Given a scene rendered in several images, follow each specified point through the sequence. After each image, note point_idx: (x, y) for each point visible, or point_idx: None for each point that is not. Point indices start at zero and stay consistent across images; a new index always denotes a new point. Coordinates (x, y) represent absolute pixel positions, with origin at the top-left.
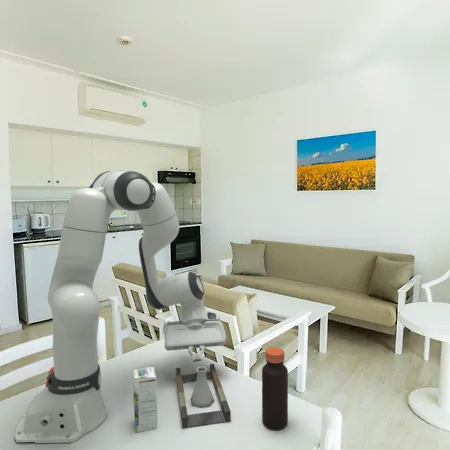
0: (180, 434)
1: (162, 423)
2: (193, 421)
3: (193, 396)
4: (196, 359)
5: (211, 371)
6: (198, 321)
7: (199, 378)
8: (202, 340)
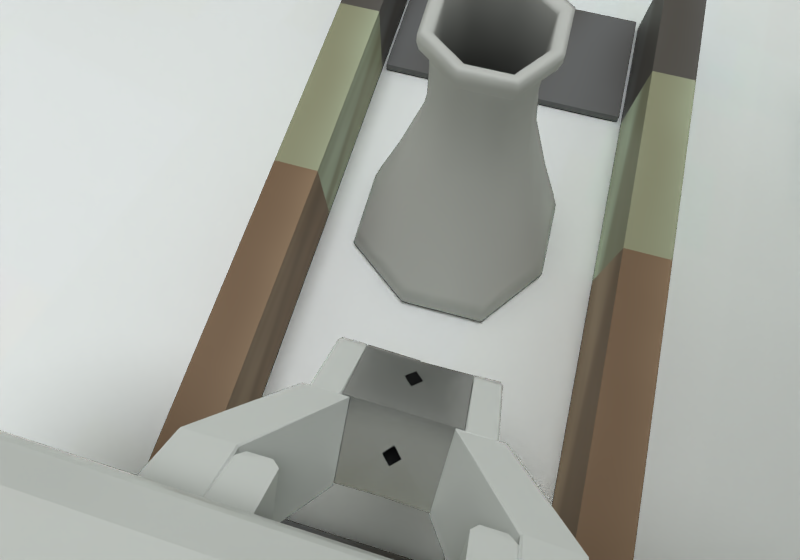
0: None
1: (792, 127)
2: (596, 46)
3: (547, 185)
4: (437, 366)
5: None
6: None
7: (522, 68)
8: (77, 545)
